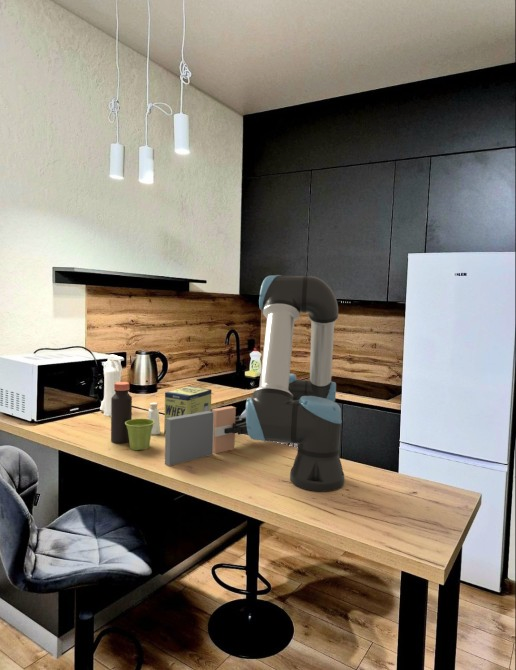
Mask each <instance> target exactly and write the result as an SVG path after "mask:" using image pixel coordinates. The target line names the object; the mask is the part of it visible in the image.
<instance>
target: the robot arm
mask: <svg viewBox="0 0 516 670" xmlns="http://www.w3.org/2000/svg"><path fill="white" fill-rule="evenodd" d="M258 305H259V310H261V311H262V314H263V317H265V318H266V326H265V331H264V332H265V333H264V340H263V341H264V342H263V350H262V358H261V360H262V361H261V368H260V376H259V377H260V378H259V384H258V385H259V386H258V387H257V388H256V389H255V390H253V392H252V397H247V398H246V402H245V416H243V417H241V415H237V416H235V423H233V427H232V425H226V426H222V427H217V428H215V437H217V436H222V435H226V434H231V433H234V434H235V435H236V434H238V435H243V434H248V436H249V438H250V439H251V440H254V441H260V442H261V441H262V442H264V443H266V442H275V443H286V444H297V453H296V455H295V458H294V462H293V464H292V467H291V468H290V472H289V473H290V476H289V480H290V482H291V483H292V484H293V485H294V486H296V487H297V488H301V489H303V490H308V491H313V492H332V491H333V492H334V491H337V490H339V489H341V488H343V486H344V485H345V473H344V471H343V469H344V468H343V465H342V461H341V458H340V446H341V445H340V443H341V425H342V421H343V420H342V408H341V407H340V405H339V404H338V403H337V402H336V397H337V383H336V382H335V381H332V373H333V371H332V370H333V353H334V337H335V335H334V334H335V322H336V321H337V320H338V318H339V306H338V305H339V304H338V301H337V298H336V296H335V294H334V292H333V290H332V288H331V287H330V286H329V285H328V284H327V283H326V282H325V281H324V280H322V279H321V278H319V277H316V276H312V275H309V276H308V275H306V276H303V275H295V276H294V275H281V274H276V275H267V276H266V277H265V278H264V279H263V281H262V283H261V286H260V290H259V299H258ZM301 313H307V314H308V319H309V320H310V321H311V323H310V324H311V326H310V327H311V328H310V329H311V330H310V356H309V357H310V358H309V359H310V360H309V361H310V365H309V367H310V368H309V380H308V379H307V380H306V379H297V375H296V374H295V373H291V362H292V351H293V341H294V338H293V337H294V329H295V328H294V324H295V322H296V321H297V320H298V319H299V317H300V314H301Z"/></svg>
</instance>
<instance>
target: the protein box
mask: <svg viewBox="0 0 516 670" xmlns="http://www.w3.org/2000/svg"><path fill="white" fill-rule="evenodd" d="M205 411H211V412H212V389H209V388H203V387H197V386H191V385H190V386H189V385H188V386H184V387H182V388H177V389H174V390H170V391H165V392H164V426H163V427H164V433H163V434H165V430H166V418H170V417H176V416H181V415H187V414H193V413H199V412H205Z"/></svg>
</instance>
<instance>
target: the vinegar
mask: <svg viewBox="0 0 516 670" xmlns="http://www.w3.org/2000/svg"><path fill="white" fill-rule="evenodd" d="M114 390H115V394H114V396H113V397H112V398H111V416H110V418H111V419H110V441H111V442H112V443H115V444H126V443H128V442H129V435H128V429H127V426H126V425H125V422H126V421H128V420H132V419H133V418H132V417H133V416H132V415H133V413H132V411H133V410H132V409H133V408H132V407H133V401H132V400H133V397H132V396H131V394H130V393H129V392H130V383H129V382H128V381H120V382H116V383H114Z"/></svg>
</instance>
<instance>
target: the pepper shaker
mask: <svg viewBox="0 0 516 670" xmlns="http://www.w3.org/2000/svg"><path fill="white" fill-rule="evenodd" d="M147 419H151V420H153V421H154V424H153V427H152V431H151V436H153V435H154V436H156V435H159V434H161V425H160V423H161V422H160V412H159V409H158V403H157V402H150V403H149V409H148V412H147Z"/></svg>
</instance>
